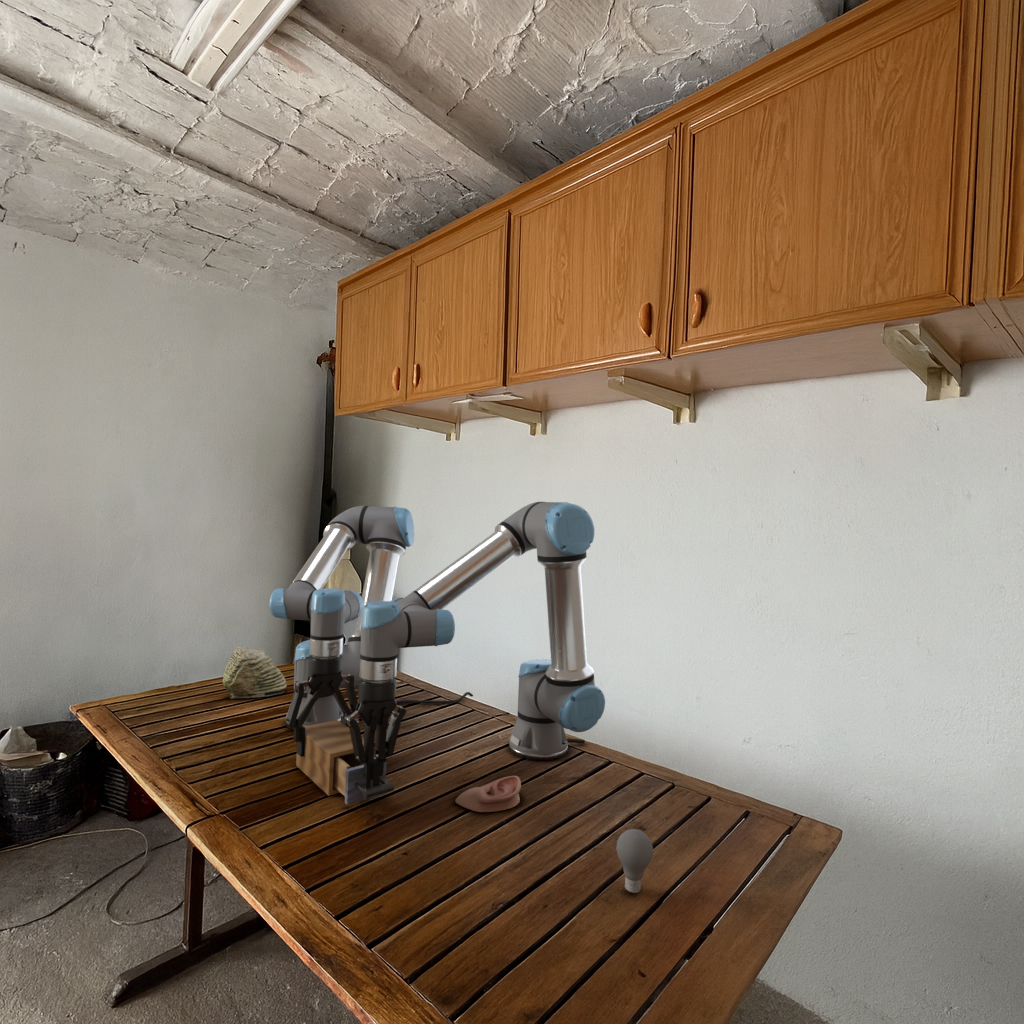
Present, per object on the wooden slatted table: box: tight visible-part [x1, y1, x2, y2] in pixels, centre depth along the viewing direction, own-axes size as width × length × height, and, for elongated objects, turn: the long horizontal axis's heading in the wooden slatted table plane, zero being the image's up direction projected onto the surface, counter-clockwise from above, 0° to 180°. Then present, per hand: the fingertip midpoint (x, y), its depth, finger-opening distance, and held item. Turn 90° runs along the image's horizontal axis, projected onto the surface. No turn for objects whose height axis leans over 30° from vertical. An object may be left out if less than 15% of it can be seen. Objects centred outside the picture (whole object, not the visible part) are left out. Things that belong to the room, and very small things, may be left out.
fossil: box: [222, 646, 288, 699], centre depth 198 cm, size 9×18×15 cm, turn 132°
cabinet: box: [295, 720, 364, 797], centre depth 144 cm, size 18×10×9 cm, turn 40°
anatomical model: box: [454, 775, 522, 813], centre depth 135 cm, size 13×4×12 cm
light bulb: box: [615, 828, 654, 894], centre depth 106 cm, size 6×6×10 cm
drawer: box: [333, 753, 395, 806], centre depth 136 cm, size 23×9×7 cm, turn 40°
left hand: (322, 749), depth 149 cm, fingers closed on cabinet, 10 cm apart
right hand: (372, 792), depth 129 cm, fingers closed
